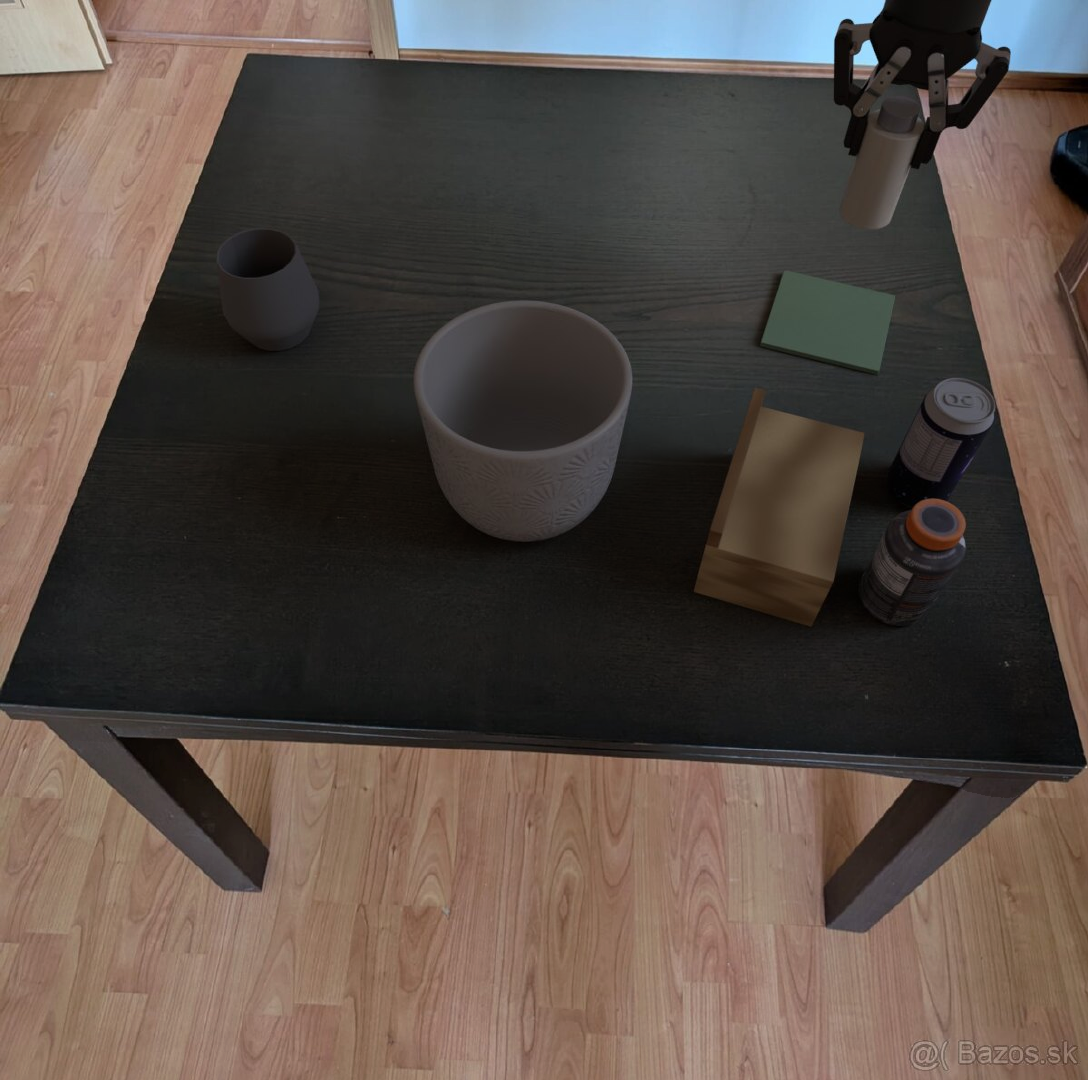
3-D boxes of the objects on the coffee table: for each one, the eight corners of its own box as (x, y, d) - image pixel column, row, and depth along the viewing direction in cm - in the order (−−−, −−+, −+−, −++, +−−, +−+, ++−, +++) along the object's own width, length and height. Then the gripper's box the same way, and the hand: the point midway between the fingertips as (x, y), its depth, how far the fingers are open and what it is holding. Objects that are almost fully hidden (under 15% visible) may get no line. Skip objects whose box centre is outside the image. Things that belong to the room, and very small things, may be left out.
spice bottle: (894, 204, 88) (933, 96, 79) (887, 234, 85) (927, 127, 77) (843, 193, 89) (876, 86, 80) (835, 223, 86) (868, 115, 78)
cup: (345, 328, 97) (327, 248, 89) (276, 378, 93) (251, 300, 84) (283, 289, 100) (261, 209, 92) (214, 336, 96) (184, 256, 88)
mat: (893, 299, 100) (895, 295, 100) (877, 375, 94) (879, 371, 93) (782, 274, 102) (784, 269, 102) (759, 346, 96) (760, 342, 95)
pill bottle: (930, 576, 80) (982, 496, 71) (927, 635, 77) (981, 559, 67) (859, 561, 81) (901, 479, 72) (853, 618, 78) (896, 540, 68)
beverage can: (949, 519, 83) (1004, 429, 74) (884, 511, 84) (930, 421, 74) (944, 470, 87) (996, 378, 77) (881, 463, 87) (925, 370, 77)
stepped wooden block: (843, 483, 86) (872, 416, 78) (811, 627, 77) (840, 567, 70) (736, 454, 88) (754, 387, 80) (693, 592, 79) (709, 530, 72)
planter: (639, 554, 81) (658, 438, 69) (445, 586, 79) (428, 473, 67) (594, 411, 90) (603, 286, 78) (420, 437, 88) (400, 313, 76)
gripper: (849, -48, 68) (795, 164, 82) (1056, -15, 65) (963, 199, 79) (864, -91, 72) (811, 119, 86) (1060, -61, 69) (971, 150, 83)
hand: (884, 156), depth 82 cm, fingers closed on spice bottle, 4 cm apart
